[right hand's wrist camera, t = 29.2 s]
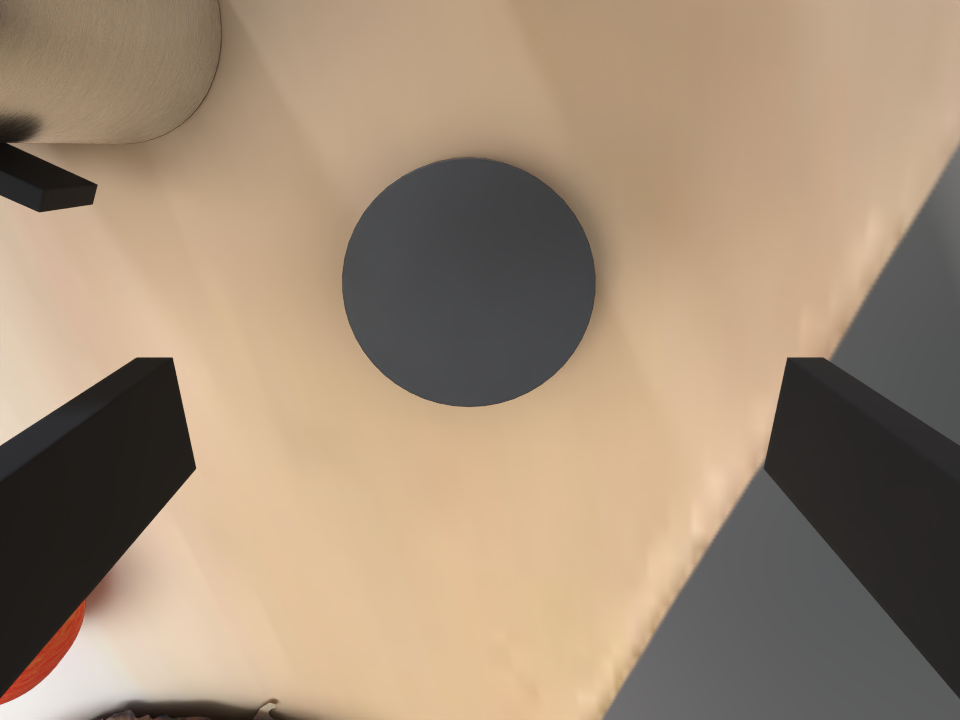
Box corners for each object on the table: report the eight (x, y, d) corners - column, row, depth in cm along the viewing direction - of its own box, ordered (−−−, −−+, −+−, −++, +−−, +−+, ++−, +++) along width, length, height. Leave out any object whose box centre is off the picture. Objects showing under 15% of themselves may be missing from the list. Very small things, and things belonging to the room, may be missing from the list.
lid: (604, 358, 28) (615, 375, 26) (393, 409, 29) (387, 430, 27) (559, 127, 24) (567, 125, 22) (318, 194, 25) (304, 198, 23)
